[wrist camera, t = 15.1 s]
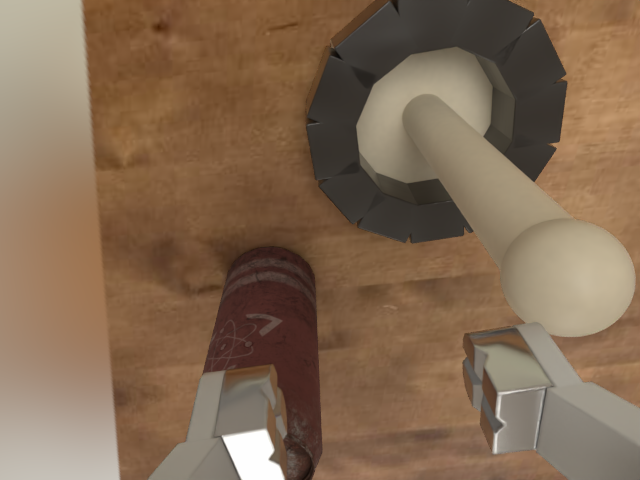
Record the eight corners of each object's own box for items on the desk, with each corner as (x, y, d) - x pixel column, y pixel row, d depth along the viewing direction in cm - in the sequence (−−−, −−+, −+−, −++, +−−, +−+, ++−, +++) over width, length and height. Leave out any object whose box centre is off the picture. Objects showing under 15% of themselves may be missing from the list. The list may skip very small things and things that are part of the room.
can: (221, 307, 32) (173, 506, 20) (235, 234, 29) (187, 418, 17) (302, 321, 33) (303, 519, 21) (324, 252, 30) (339, 438, 18)
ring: (326, 230, 28) (328, 256, 25) (288, 10, 21) (286, 15, 19) (525, 200, 27) (549, 223, 24) (549, -36, 21) (584, -38, 18)
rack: (350, 193, 28) (409, 457, 13) (329, 38, 23) (383, 162, 8) (494, 170, 27) (736, 416, 12) (503, 8, 23) (915, 76, 7)
